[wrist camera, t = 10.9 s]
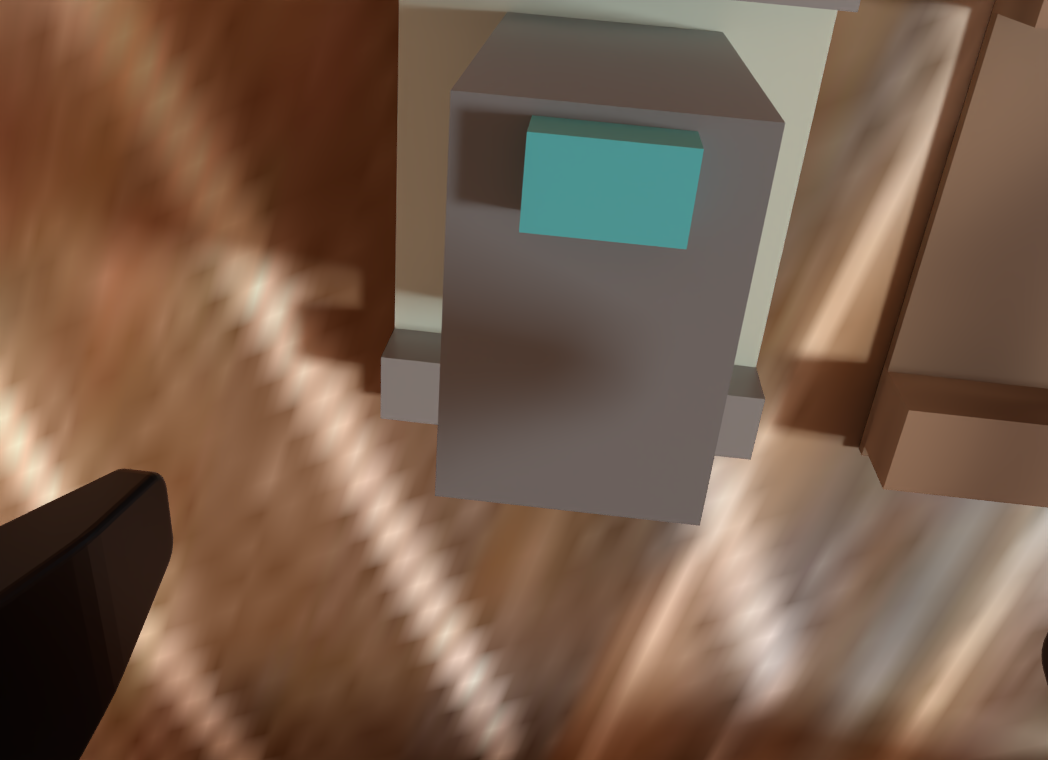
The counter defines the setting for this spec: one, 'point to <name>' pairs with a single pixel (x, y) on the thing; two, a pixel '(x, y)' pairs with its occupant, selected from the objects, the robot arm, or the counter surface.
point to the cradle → (422, 162)
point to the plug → (597, 263)
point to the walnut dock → (979, 294)
